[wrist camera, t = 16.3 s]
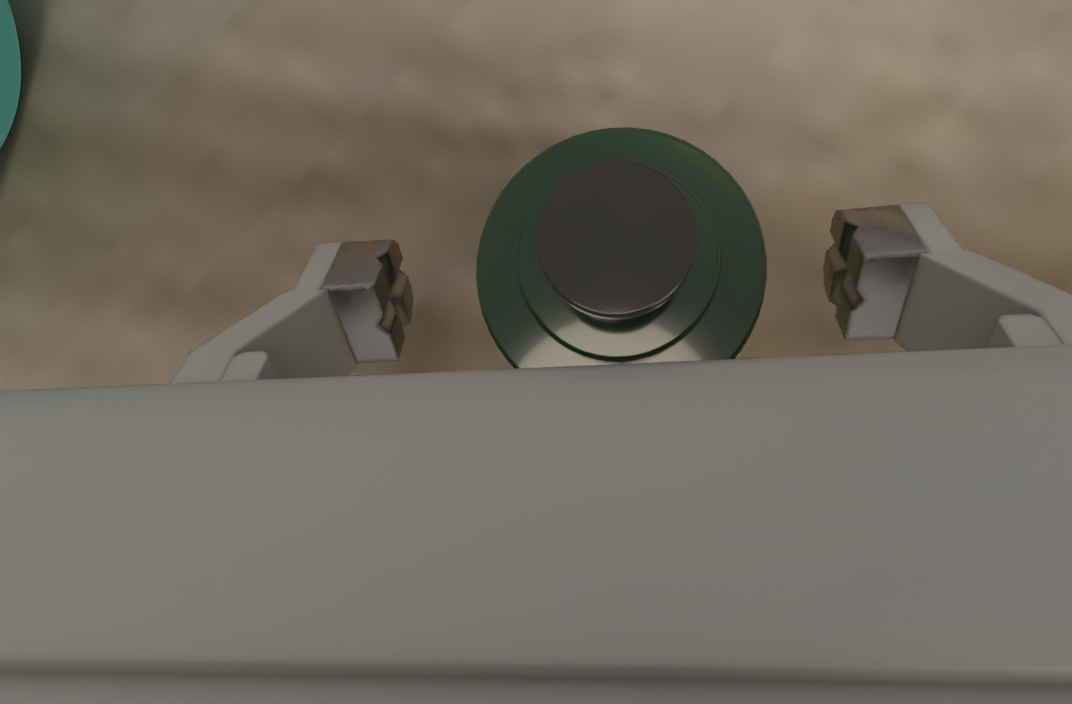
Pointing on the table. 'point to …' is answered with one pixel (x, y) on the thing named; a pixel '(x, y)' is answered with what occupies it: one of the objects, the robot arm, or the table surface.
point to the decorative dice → (8, 70)
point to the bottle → (621, 255)
